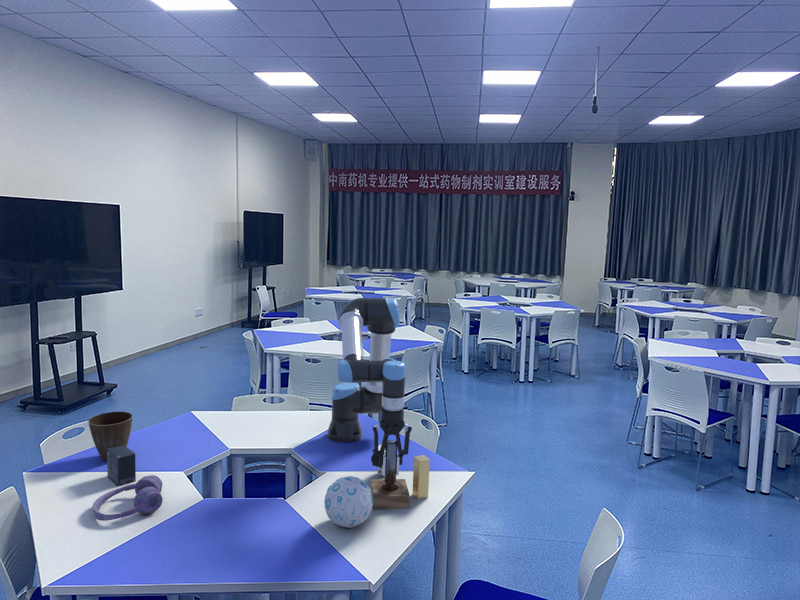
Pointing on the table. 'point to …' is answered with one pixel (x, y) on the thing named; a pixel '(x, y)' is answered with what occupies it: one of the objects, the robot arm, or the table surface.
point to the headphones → (144, 500)
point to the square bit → (421, 477)
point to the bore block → (390, 494)
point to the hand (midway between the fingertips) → (390, 473)
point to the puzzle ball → (348, 501)
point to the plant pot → (110, 431)
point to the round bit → (390, 462)
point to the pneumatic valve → (377, 461)
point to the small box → (121, 465)
